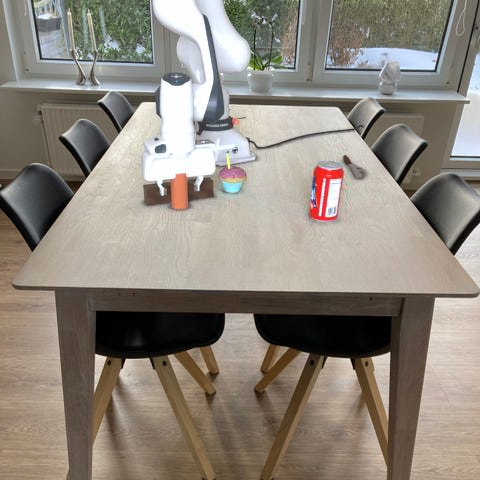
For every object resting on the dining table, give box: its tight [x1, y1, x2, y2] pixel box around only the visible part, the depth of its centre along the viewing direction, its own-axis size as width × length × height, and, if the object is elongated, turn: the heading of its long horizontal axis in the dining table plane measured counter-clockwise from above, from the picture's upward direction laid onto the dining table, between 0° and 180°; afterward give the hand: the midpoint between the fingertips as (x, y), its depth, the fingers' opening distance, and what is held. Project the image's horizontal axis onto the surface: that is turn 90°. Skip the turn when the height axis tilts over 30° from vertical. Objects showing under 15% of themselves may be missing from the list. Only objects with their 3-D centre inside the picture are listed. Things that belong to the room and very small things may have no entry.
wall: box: [142, 176, 214, 206], centre depth 150 cm, size 20×3×5 cm, turn 114°
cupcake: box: [218, 153, 248, 194], centre depth 156 cm, size 9×8×12 cm
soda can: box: [308, 160, 345, 223], centre depth 140 cm, size 8×8×15 cm
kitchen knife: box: [342, 154, 365, 179], centre depth 180 cm, size 21×2×5 cm
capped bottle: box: [169, 173, 189, 210], centre depth 144 cm, size 5×5×11 cm
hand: (179, 192), depth 145 cm, fingers open, 8 cm apart
